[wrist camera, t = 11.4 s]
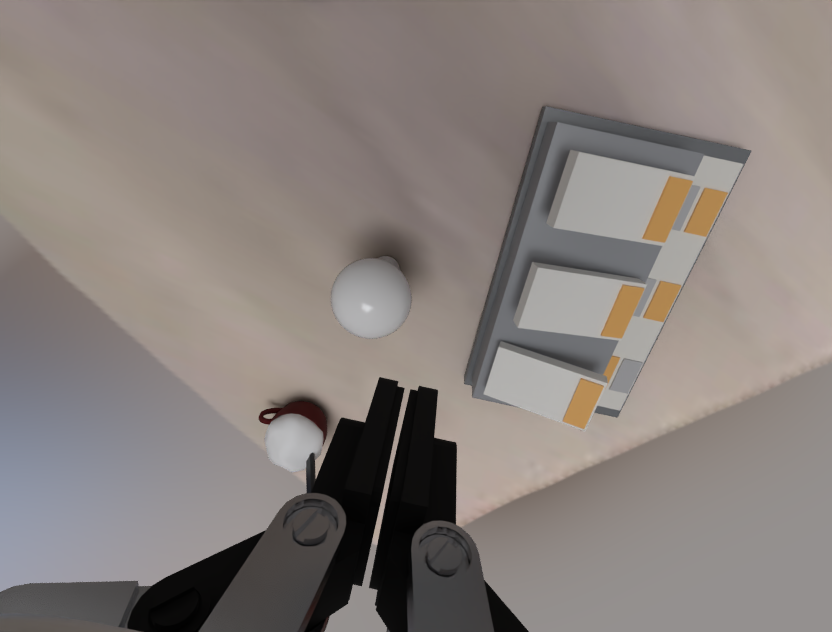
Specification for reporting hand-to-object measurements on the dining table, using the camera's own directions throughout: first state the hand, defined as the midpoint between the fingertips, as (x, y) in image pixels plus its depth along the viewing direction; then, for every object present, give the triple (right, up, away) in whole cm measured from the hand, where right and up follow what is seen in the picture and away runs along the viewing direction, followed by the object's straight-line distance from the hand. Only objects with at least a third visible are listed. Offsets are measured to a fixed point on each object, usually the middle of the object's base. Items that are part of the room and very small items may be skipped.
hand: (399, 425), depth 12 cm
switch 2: (+13, +4, +22) cm, 26 cm away
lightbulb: (-2, +8, +29) cm, 30 cm away
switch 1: (+15, +11, +18) cm, 26 cm away
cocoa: (-12, -9, +38) cm, 41 cm away
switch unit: (+16, +6, +27) cm, 32 cm away
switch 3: (+12, -3, +25) cm, 28 cm away
